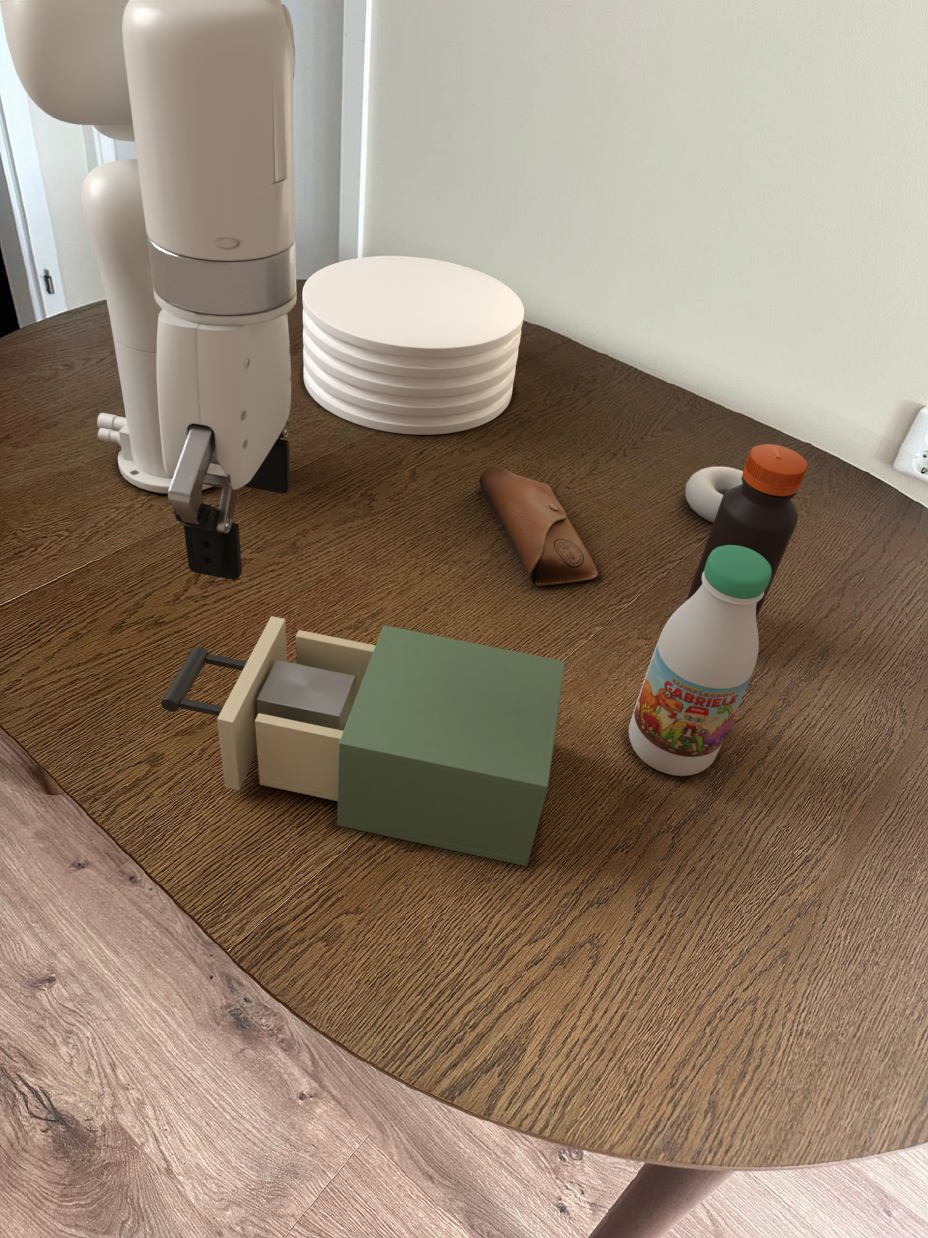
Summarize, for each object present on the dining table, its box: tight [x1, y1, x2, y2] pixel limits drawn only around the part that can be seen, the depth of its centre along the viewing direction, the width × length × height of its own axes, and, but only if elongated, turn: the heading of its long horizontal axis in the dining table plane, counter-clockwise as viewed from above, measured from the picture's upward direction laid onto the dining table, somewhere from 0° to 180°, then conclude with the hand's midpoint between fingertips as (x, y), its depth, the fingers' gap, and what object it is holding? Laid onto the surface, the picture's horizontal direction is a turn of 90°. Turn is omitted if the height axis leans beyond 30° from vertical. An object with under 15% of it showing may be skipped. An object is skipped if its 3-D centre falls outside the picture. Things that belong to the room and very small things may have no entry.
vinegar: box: [685, 443, 809, 620], centre depth 84 cm, size 7×7×20 cm
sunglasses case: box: [479, 464, 599, 587], centre depth 99 cm, size 18×7×7 cm
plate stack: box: [302, 255, 525, 436], centre depth 119 cm, size 28×28×12 cm
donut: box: [684, 466, 743, 524], centre depth 106 cm, size 10×3×10 cm
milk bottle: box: [628, 545, 772, 777], centre depth 72 cm, size 8×8×20 cm
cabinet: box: [336, 625, 566, 867], centre depth 70 cm, size 15×13×10 cm
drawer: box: [160, 615, 376, 802], centre depth 71 cm, size 19×11×8 cm, turn 80°
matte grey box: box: [257, 660, 356, 731], centre depth 71 cm, size 6×4×6 cm
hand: (242, 528), depth 60 cm, fingers open, 9 cm apart
